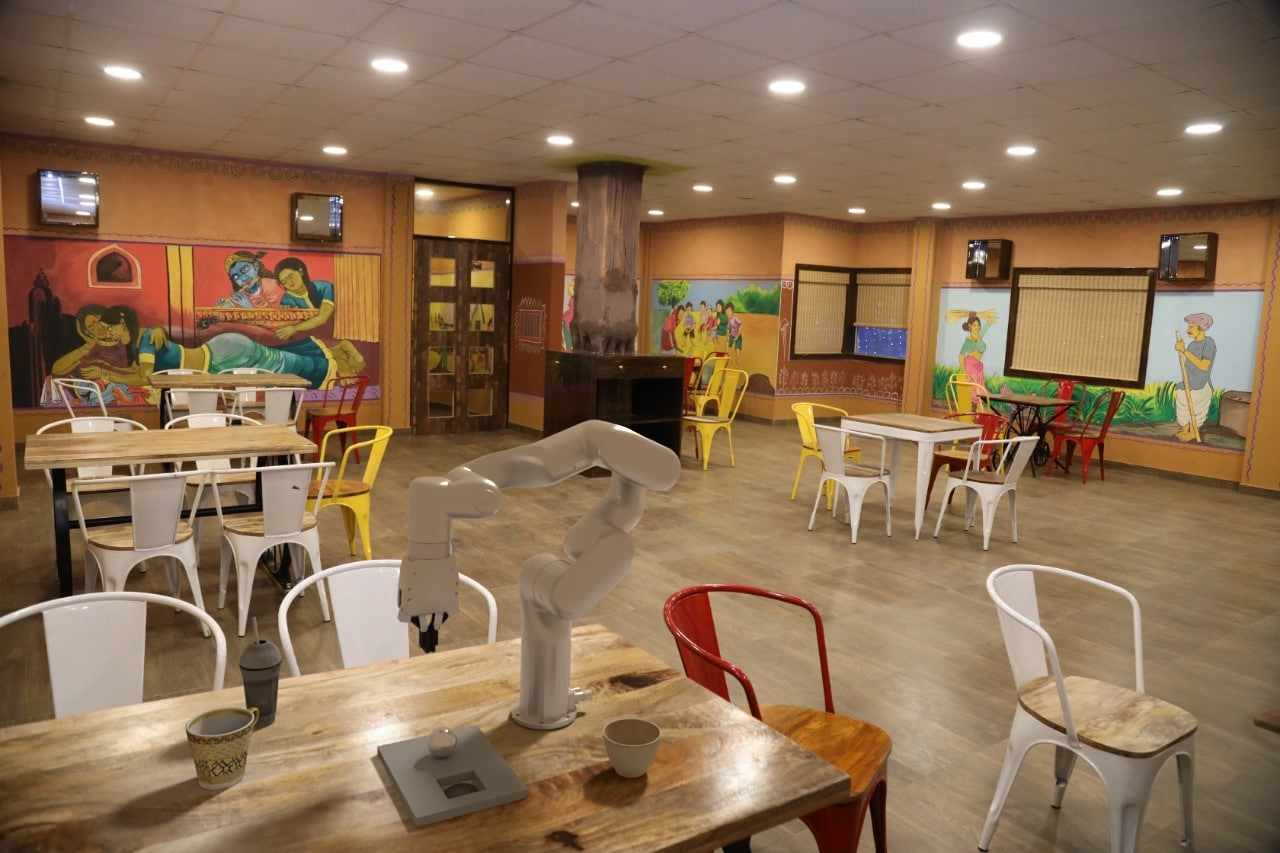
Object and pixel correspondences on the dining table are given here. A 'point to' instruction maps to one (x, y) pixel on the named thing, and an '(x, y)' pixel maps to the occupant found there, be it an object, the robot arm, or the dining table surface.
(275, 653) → the beverage cup
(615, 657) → the dining table surface
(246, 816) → the dining table surface
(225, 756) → the ceramic cup
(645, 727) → the flower pot
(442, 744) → the ball
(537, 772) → the dining table surface
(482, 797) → the grey flat plate
